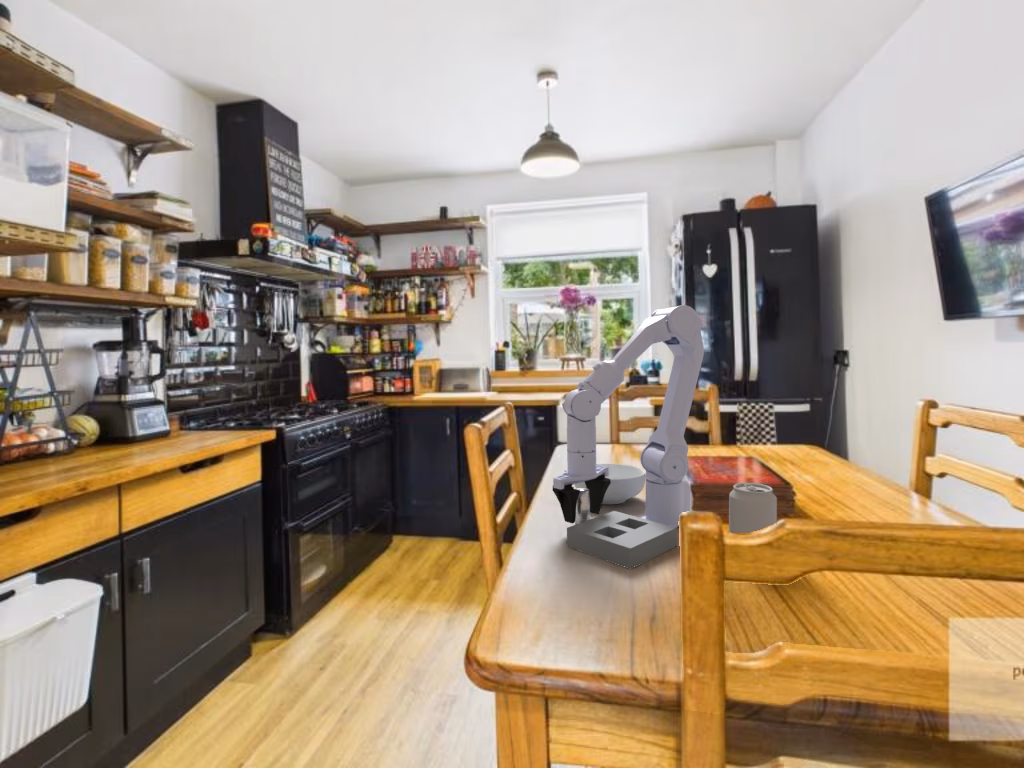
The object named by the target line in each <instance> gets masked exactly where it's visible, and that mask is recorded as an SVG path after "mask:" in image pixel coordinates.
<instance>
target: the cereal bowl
mask: <svg viewBox="0 0 1024 768" xmlns="http://www.w3.org/2000/svg"><path fill="white" fill-rule="evenodd" d="M601 465H602V466H607V467H609V476H606V477H605V478H609V479H610V481H611V484H610V485H609V487H608V489H607V491H606V493H605V495H604V498H603V502H602V505H617V504H618V505H619V504H623V503H625V502H626V501H627V500H630V499H632V498H634V497H637V495H639V494H640V493H641V492H642V491H643V489H644V487H645V485H646V470H645V469H644V468H640V467H638V466H634V465H629V464H623V463H622V464H619V463H596V466H601ZM573 486H574V487H575V489H577V488H586V484H585V481H584V482H581V483H577V484H574V485H573Z"/></svg>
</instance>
